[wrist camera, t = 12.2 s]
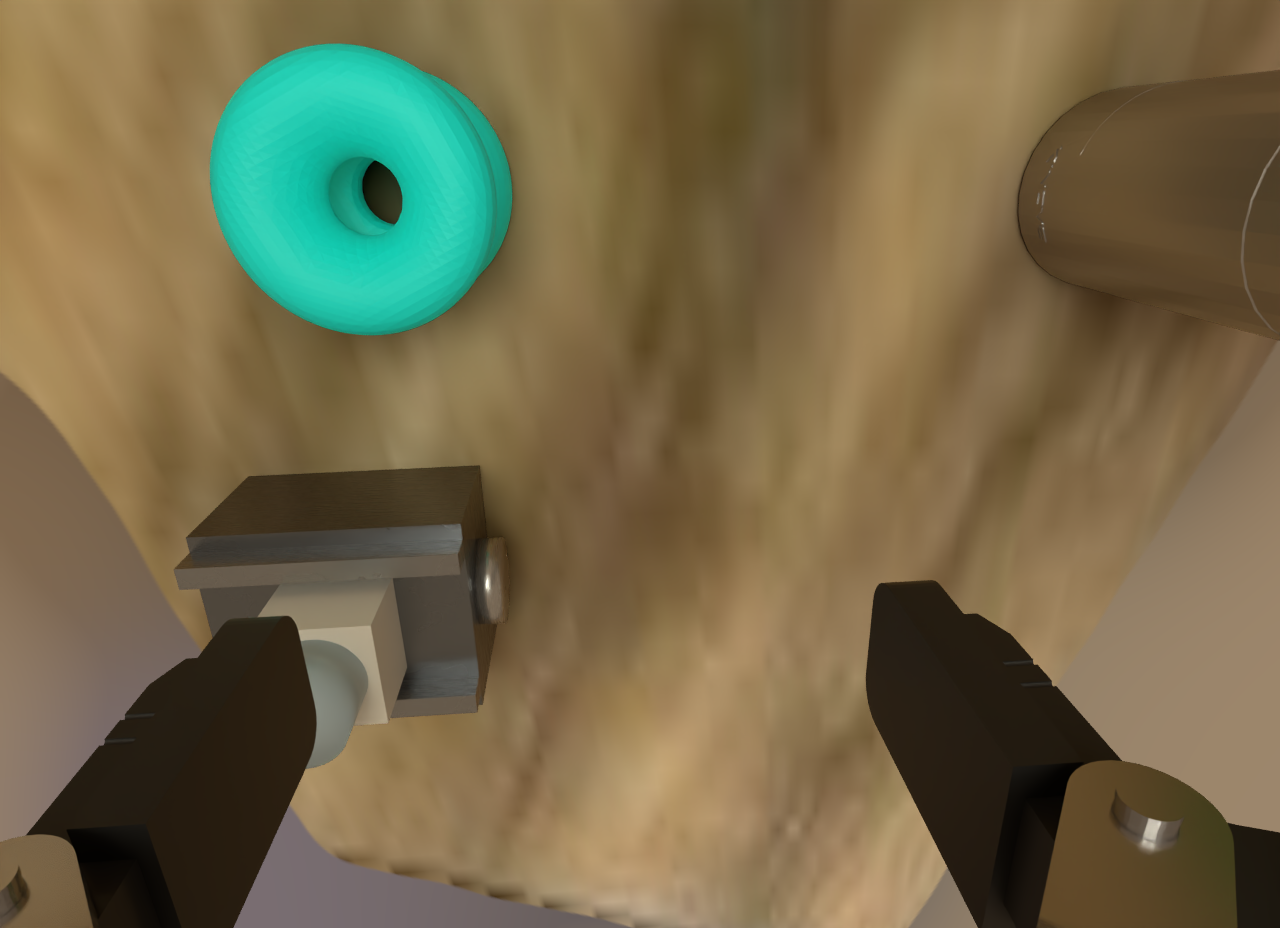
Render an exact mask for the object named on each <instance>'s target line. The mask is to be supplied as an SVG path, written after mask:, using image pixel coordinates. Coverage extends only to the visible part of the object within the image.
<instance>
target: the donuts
mask: <svg viewBox="0 0 1280 928" xmlns="http://www.w3.org/2000/svg"><path fill="white" fill-rule="evenodd" d="M375 160H376V161H378V162H380V163H382V164H383V165H384V166H386V167H387V168H388V169H389V170H390V171H391V172H392V173H393V175H394V176H395V177H396V179H397V181H398V183H399V185H400V188H401V192H402V197H403V203H402V212H401V214H400V217H399V220H398V221H397V223H396V224H391V223H387V222H385V221H383V220H381V219H379V218H378V217H377V216H376V215H375V214H373V212H372V211H371V210H370V208H369V207H368V205H367V203H366V201H365V199H364V195H363V191H362V180H363V177H364V174H365V171H366V169H367V168H368V166H369V165H370V164H371V163H372V162H373V161H375ZM210 185H211V193H212V199H213V204H214V209H215V212H216V216H217V219H218V222H219V225H220V228H221V230H222V232H223V235H224V237H225V239H226V241H227V243H228V245H229V247H230V249H231V251H232V252H233V254H234V256H235V257H236V259H237V260H238V262H239V263H240V265H241V266H242V268H243V269H244V270H245V272H246V273H247V274H248V275H249V276H250V278H251V279H252V280H253V281H254V282H255V283H256V284H257V285H258V286H259V287H260V288H261V289H262V290H263V291H264V292H265V293H266V294H267V295H268V296H269V297H271V298H272V299H273V300H274V301H276V302H277V303H278V304H280V305H281V306H282V307H284V308H285V309H287V310H288V311H290V312H292V313H293V314H295V315H297V316H299V317H301V318H302V319H304V320H306V321H309V322H311V323H313V324H316V325H318V326H321V327H324V328H327V329H331V330H334V331H338V332H343V333H349V334H357V335H386V334H394V333H399V332H403V331H407V330H411V329H414V328H417V327H419V326H421V325H424V324H426V323H428V322H430V321H432V320H434V319H435V318H437V317H439V316H440V315H442V314H443V313H445V312H446V311H448V310H449V309H450V308H451V307H452V306H454V305H455V304H456V303H457V302H458V301H459V300H460V299H461V298H462V297H463V296H464V295H465V294H466V292H467V291H468V290H469V289H470V288H471V286H472V285H473V284H474V282H475V281H476V279H477V278H478V276H479V275H480V274H481V273H482V272H483V271H484V270H485V269H486V268H487V267H488V265H489V264H490V263H491V261H492V260H493V259H494V257H495V255H496V254H497V252H498V250H499V249H500V247H501V245H502V243H503V240H504V238H505V235H506V232H507V230H508V226H509V222H510V217H511V210H512V181H511V175H510V170H509V165H508V162H507V158H506V155H505V152H504V150H503V147H502V145H501V143H500V141H499V139H498V137H497V135H496V133H495V131H494V129H493V128H492V126H491V125H490V123H489V122H488V120H487V119H486V118H485V116H484V115H483V114H482V112H481V111H480V110H479V109H478V108H477V107H476V106H475V105H474V104H473V103H472V102H471V101H470V100H469V99H468V98H467V97H466V96H465V95H464V94H462V93H461V92H460V91H458V90H457V89H456V88H454V87H453V86H451V85H450V84H448V83H447V82H445V81H443V80H441V79H439V78H438V77H435V76H433V75H431V74H429V73H426V72H423V71H421V70H420V69H418V68H417V67H415V66H413V65H411V64H410V63H408V62H406V61H404V60H402V59H399V58H397V57H395V56H393V55H390V54H388V53H385V52H382V51H379V50H376V49H372V48H368V47H364V46H358V45H351V44H320V45H313V46H308V47H304V48H300V49H296V50H294V51H291V52H288V53H286V54H283V55H281V56H279V57H277V58H275V59H274V60H272V61H270V62H268V63H267V64H265V65H264V66H262V67H261V68H260V69H258V70H257V71H256V72H255V73H253V74H252V75H251V76H250V77H249V78H248V79H247V80H246V81H245V82H244V83H243V84H242V85H241V86H240V87H239V88H238V90H237V91H236V92H235V94H234V95H233V96H232V98H231V99H230V101H229V103H228V104H227V106H226V108H225V110H224V112H223V114H222V116H221V118H220V121H219V123H218V126H217V129H216V132H215V136H214V139H213V144H212V150H211V158H210Z"/></svg>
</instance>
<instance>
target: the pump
mask: <svg viewBox="0 0 1280 928" xmlns="http://www.w3.org/2000/svg"><path fill="white" fill-rule="evenodd" d="M270 616H290V617H291V618H292V619H293V620H294V621H295V623H296V625H297V628H298V632H299V636H300V640H301V645H302V649H303V654H304V658H305V663H306V667H307V672H308V676H309V681H310V685H311V690H312V694H313V699H314V703H315V708H316V716H317V730H316V739H315V744H314V749H313V752H312V755H311V758H310V760H309V762H308V764H307V767H306V769H307V768H314V767H318V766H321V765H324V764H326V763H328V762H330V761H331V760H333V759H334V758H336V757H337V756H338V755H339V754H340V753H341V752H342V750H343V749H344V747H345V745H346V743H347V741H348V738H349V736H350V733H351V730H352V728H353V726H355V725H370V724H385V723H389V720H390V717H391V714H392V711H393V708H394V705H395V702H396V699H397V696H398V693H399V690H400V687H401V684H402V681H403V678H404V675H405V672H406V669H407V663H406V657H405V651H404V645H403V638H402V632H401V626H400V620H399V614H398V608H397V602H396V596H395V590H394V584H393V578H387V579H369V580H350V581H332V582H314V583H295V584H280V585H279V587H278V588H277V590H276V591H275V592H274V594H273V595H272V597H271V598H270V600H269V601H268V602H267V604H266V605H265V607H264V608H263V610H262V611H261V613H260V614H259V615H258V617H270Z"/></svg>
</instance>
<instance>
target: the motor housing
mask: <svg viewBox="0 0 1280 928" xmlns="http://www.w3.org/2000/svg"><path fill="white" fill-rule="evenodd" d="M186 540H187V544H188V547H189V551H190V553H189V554H188V555H187V556H186V557H185V558H184V559H183V560H182V561H181V562H180V564H179V565H178V566H177V567H176V568H175V569H174V572H175V576H176V580H177V583H178V587H179V590H185V589H200V592H201V596H202V600H203V603H204V607H205V611H206V614H207V618H208V622H209V626H210V629H211V633H212V637H214V636H215V634H216V633H217V632H218V631H219V629H220V628H221V627H222V625H223V624H224V623H225V622H226V621H228V620H229V619H235V618H252V617H258V615H259V614H260V613H261V611H262V610H263V608H264V607H265V605H266V604H267V602H268V601H269V600H270V598H271V597H272V595H273V594H274V592H275V591H276V590H277V588H278V587H279V585H280V584H295V583H314V582H332V581H350V580H369V579H387V578H393V584H394V590H395V596H396V602H397V608H398V614H399V620H400V626H401V632H402V638H403V645H404V651H405V657H406V663H407V669H406V672H405V675H404V678H403V681H402V684H401V687H400V690H399V693H398V696H397V699H396V702H395V705H394V708H393V711H392V714H391V717H390V718H398V717H414V716H429V715H445V714H460V713H476V712H478V706H479V705H483V700H484V694H485V688H486V683H487V677H488V672H489V666H490V660H491V655H492V649H493V643H494V638H495V632H496V627H497V624H500V623H506V622H507V620H508V614H509V599H510V581H509V563H508V553H507V546H506V542H505V539H504V537H494V538H487V530H486V521H485V512H484V502H483V493H482V484H481V475H480V466H462V467H441V468H420V469H398V470H377V471H356V472H334V473H313V474H292V475H270V476H249V477H247V478H246V479H245V480H244V481H243V482H242V483H241V484H240V485H239V486H238V487H237V488H236V489H235V490H234V491H233V492H232V493H231V494H230V495H229V496H228V497H227V498H226V499H225V500H224V501H223V502H222V503H221V504H220V505H219V506H218V507H217V508H216V509H215V510H214V511H213V512H212V513H211V514H210V515H209V516H208V517H207V518H206V519H205V520H204V521H203V522H201V523H200V524H199V525H198V526H197V527H196V528H195V529H194V530H193V531H192V532H191V533H190V534H189V535H188V536H187V537H186Z"/></svg>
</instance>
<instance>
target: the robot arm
mask: <svg viewBox="0 0 1280 928" xmlns="http://www.w3.org/2000/svg"><path fill="white" fill-rule="evenodd" d="M1018 215H1019V222H1020V228H1021V234H1022V236H1023V239H1024V241H1025V244H1026V246H1027V249H1028V251H1029V252H1030V254H1031V255H1032V257H1033V258H1034V259H1035V261H1036V262H1037V263H1038V265H1039V266H1041V267H1042V268H1043V269H1044V270H1046V271H1047V272H1048V273H1049V274H1050V275H1052V276H1054V277H1056V278H1058V279H1060V280H1063V281H1065V282H1067V283H1071V284H1074V285H1078V286H1082V287H1085V288H1089V289H1093V290H1096V291H1100V292H1104V293H1108V294H1111V295H1114V296H1117V297H1121V298H1125V299H1128V300H1132V301H1136V302H1139V303H1143V304H1147V305H1150V306H1154V307H1158V308H1162V309H1165V310H1169V311H1173V312H1176V313H1180V314H1184V315H1187V316H1191V317H1195V318H1198V319H1202V320H1206V321H1209V322H1213V323H1217V324H1221V325H1224V326H1228V327H1232V328H1235V329H1239V330H1243V331H1246V332H1250V333H1254V334H1257V335H1261V336H1265V337H1268V338H1272V339H1276V340H1280V70H1275V71H1267V72H1258V73H1249V74H1240V75H1231V76H1223V77H1214V78H1205V79H1196V80H1187V81H1175V82H1167V83H1158V84H1150V85H1141V86H1132V87H1124V88H1118V89H1114V90H1110V91H1106V92H1102V93H1099V94H1097V95H1095V96H1093V97H1091V98H1089V99H1087V100H1085V101H1082V102H1081V103H1079V104H1078V105H1076V106H1075V107H1074V108H1072V109H1071V110H1070V111H1068V112H1067V113H1066V114H1064V115H1063V116H1062V117H1061V118H1060V119H1059V120H1058V121H1057V122H1056V123H1055V124H1054V125H1053V126H1052V127H1051V128H1050V129H1049V131H1048V132H1047V133H1046V134H1045V136H1044V137H1043V139H1042V140H1041V142H1040V143H1039V145H1038V146H1037V148H1036V149H1035V151H1034V152H1033V155H1032V157H1031V159H1030V161H1029V164H1028V166H1027V168H1026V170H1025V173H1024V177H1023V181H1022V185H1021V189H1020V193H1019V211H1018ZM866 691H867V698H868V704H869V708H870V711H871V715H872V718H873V720H874V722H875V724H876V726H877V728H878V730H879V732H880V734H881V736H882V738H883V740H884V742H885V744H886V746H887V748H888V750H889V752H890V754H891V756H892V758H893V760H894V762H895V764H896V766H897V768H898V770H899V772H900V774H901V776H902V778H903V780H904V782H905V784H906V786H907V788H908V790H909V792H910V794H911V796H912V798H913V800H914V802H915V804H916V806H917V808H918V810H919V812H920V814H921V816H922V818H923V820H924V822H925V824H926V826H927V827H928V829H929V831H930V833H931V835H932V837H933V839H934V841H935V843H936V845H937V847H938V849H939V851H940V853H941V855H942V857H943V859H944V861H945V863H946V865H947V867H948V869H949V871H950V873H951V875H952V877H953V879H954V881H955V883H956V885H957V887H958V889H959V891H960V893H961V895H962V897H963V899H964V901H965V903H966V905H967V907H968V909H969V911H970V913H971V915H972V916H973V919H974V921H975V923H976V925H977V927H978V928H1280V833H1279V832H1273V831H1268V830H1262V829H1256V828H1251V827H1245V826H1239V825H1235V824H1230V823H1227V822H1226V820H1225V819H1224V817H1223V816H1222V814H1221V813H1220V812H1219V811H1218V810H1217V809H1216V808H1215V807H1214V805H1213V804H1211V803H1210V802H1209V801H1208V800H1207V799H1206V798H1205V797H1204V796H1202V795H1201V794H1200V793H1198V792H1197V791H1196V790H1194V789H1193V788H1191V787H1190V786H1188V785H1187V784H1185V783H1183V782H1181V781H1179V780H1178V779H1176V778H1174V777H1172V776H1170V775H1168V774H1166V773H1163V772H1161V771H1158V770H1155V769H1152V768H1150V767H1147V766H1143V765H1140V764H1136V763H1130V762H1125V761H1122V760H1121V759H1120V758H1119V757H1118V756H1117V755H1116V753H1115V752H1114V751H1113V750H1112V749H1111V748H1110V747H1109V746H1108V745H1107V743H1106V742H1105V741H1104V740H1103V739H1102V738H1101V737H1100V735H1099V734H1098V733H1097V732H1096V731H1095V730H1094V728H1093V727H1092V726H1091V725H1090V724H1089V723H1088V722H1087V721H1086V719H1085V718H1084V717H1083V716H1082V715H1081V714H1080V713H1079V711H1078V710H1077V709H1076V708H1075V707H1074V706H1073V705H1072V703H1071V702H1070V701H1069V700H1068V699H1067V698H1066V697H1065V695H1063V693H1062V692H1061V691H1060V690H1059V689H1058V687H1057V686H1054V687H1053V686H1052V681H1051V680H1050V678H1049V677H1048V676H1047V675H1046V674H1045V673H1044V672H1043V670H1042V669H1041V668H1040V667H1039V666H1038V665H1034V664H1033V659H1032V658H1031V657H1030V656H1029V654H1028V653H1027V652H1026V651H1025V650H1024V649H1023V648H1022V646H1021V645H1020V644H1019V643H1018V642H1017V641H1016V640H1015V639H1014V637H1013V636H1012V635H1011V634H1010V633H1008V632H1006V631H1005V630H1003V629H1001V628H1000V627H998V626H996V625H995V624H993V623H992V622H990V621H988V620H987V619H985V618H983V617H982V616H980V615H979V614H963V613H962V611H961V610H960V609H959V608H958V606H957V605H956V604H955V603H954V602H953V600H952V599H951V598H950V597H949V595H948V594H947V593H946V592H945V591H944V589H943V588H942V587H941V586H940V585H939V584H938V583H937V582H936V581H933V580H927V581H909V582H892V583H880V584H879V585H878V586H877V588H876V590H875V593H874V599H873V608H872V618H871V629H870V639H869V649H868V659H867V670H866ZM316 730H317V716H316V708H315V703H314V699H313V694H312V690H311V685H310V681H309V676H308V672H307V667H306V663H305V658H304V654H303V649H302V645H301V640H300V636H299V632H298V628H297V625H296V623H295V621H294V620H293V619H292V618H291V617H290V616H270V617H252V618H235V619H229V620H228V621H226V622H225V623H224V624H223V625H222V627H221V628H220V629H219V631H218V632H217V633H216V634H215V636H214V637H213V638H212V640H211V641H210V642H209V644H208V645H207V646H206V648H205V649H204V650H203V651H202V653H201V654H200V656H199V657H198V658H192V659H185V660H184V661H182V662H181V663H179V664H178V665H176V666H175V667H174V668H172V669H171V670H169V671H168V672H167V673H165V674H164V675H162V676H161V677H160V678H158V679H157V680H155V681H154V682H152V683H151V684H150V685H149V686H148V687H147V688H146V689H145V691H144V692H143V693H142V694H141V695H140V697H139V698H138V699H137V700H136V702H135V703H134V704H133V705H132V707H131V708H130V709H129V710H128V711H127V713H126V714H125V720H120V721H119V722H118V723H117V725H116V726H115V727H114V728H113V730H112V731H111V732H110V733H109V735H108V736H107V737H106V738H105V744H104V745H103V746H99V747H98V748H97V749H96V750H95V752H94V753H93V754H92V755H91V756H90V758H89V759H88V760H87V761H86V763H85V764H84V765H83V766H82V767H81V769H80V770H79V771H78V772H77V774H76V775H75V776H74V777H73V778H72V780H71V781H70V782H69V783H68V785H67V786H66V787H65V788H64V789H63V791H62V792H61V793H60V794H59V796H58V797H57V798H56V799H55V801H54V802H53V803H52V804H51V806H50V807H49V808H48V809H47V810H46V811H45V813H44V814H43V815H42V816H41V817H40V819H39V820H38V821H37V822H36V824H35V825H34V826H33V827H32V828H31V830H30V831H29V832H28V833H27V835H26V836H22V837H17V838H12V839H9V840H5V841H3V842H0V928H233V927H234V925H235V923H236V921H237V919H238V916H239V914H240V912H241V910H242V908H243V905H244V903H245V901H246V898H247V896H248V894H249V892H250V890H251V888H252V886H253V883H254V881H255V879H256V877H257V874H258V872H259V870H260V868H261V866H262V863H263V861H264V859H265V857H266V855H267V852H268V850H269V848H270V846H271V844H272V841H273V839H274V837H275V835H276V833H277V830H278V828H279V826H280V824H281V822H282V819H283V817H284V815H285V813H286V811H287V808H288V806H289V804H290V802H291V800H292V797H293V795H294V793H295V791H296V789H297V786H298V784H299V782H300V780H301V778H302V775H303V773H304V771H305V769H306V767H307V764H308V762H309V760H310V758H311V755H312V752H313V749H314V744H315V739H316Z"/></svg>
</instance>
